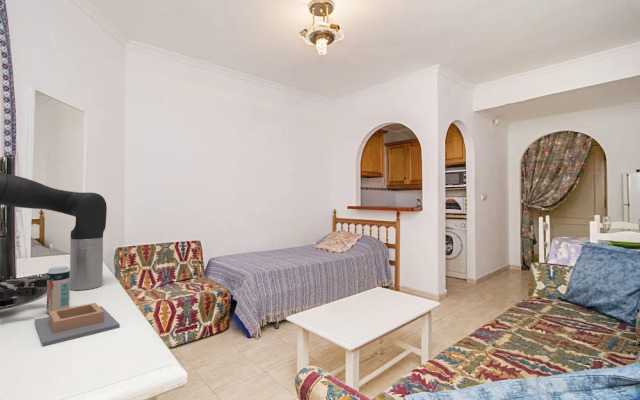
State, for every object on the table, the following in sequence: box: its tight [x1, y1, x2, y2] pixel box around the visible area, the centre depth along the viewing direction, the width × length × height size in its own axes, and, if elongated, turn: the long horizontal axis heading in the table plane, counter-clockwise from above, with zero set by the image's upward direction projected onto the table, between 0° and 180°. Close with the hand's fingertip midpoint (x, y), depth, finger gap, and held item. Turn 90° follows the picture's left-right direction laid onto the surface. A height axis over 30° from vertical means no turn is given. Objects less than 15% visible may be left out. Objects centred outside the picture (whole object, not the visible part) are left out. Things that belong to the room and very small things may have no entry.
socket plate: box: [34, 302, 120, 347], centre depth 77 cm, size 18×14×3 cm
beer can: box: [46, 266, 71, 314], centre depth 86 cm, size 5×5×12 cm
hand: (46, 286), depth 85 cm, fingers open, 8 cm apart
